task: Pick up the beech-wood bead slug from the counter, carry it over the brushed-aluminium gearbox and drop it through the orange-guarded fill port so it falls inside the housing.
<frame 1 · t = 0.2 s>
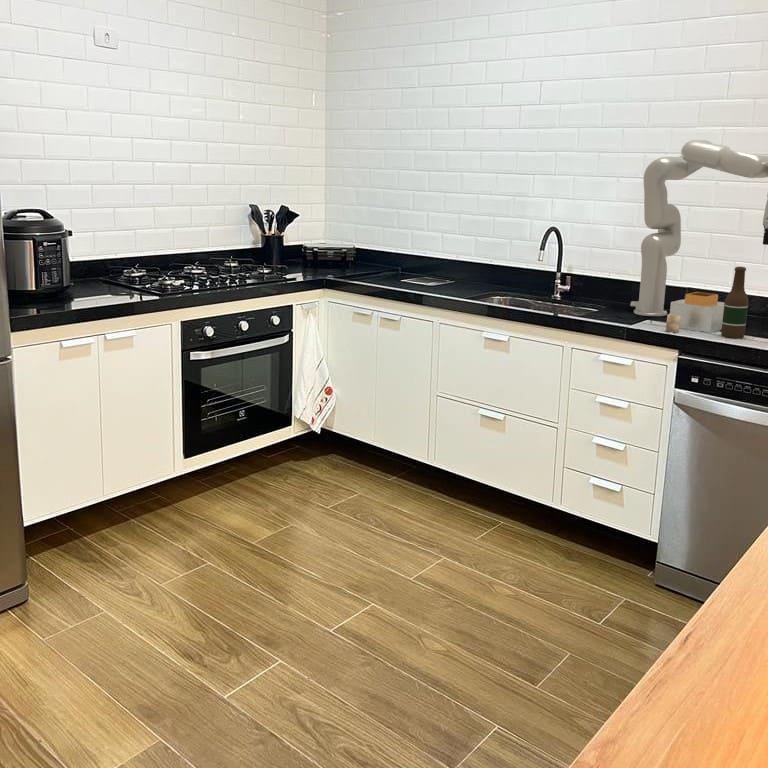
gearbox: (698, 327, 305), on the countertop
bead: (672, 331, 297), on the countertop
beer bottle: (732, 337, 289), on the countertop
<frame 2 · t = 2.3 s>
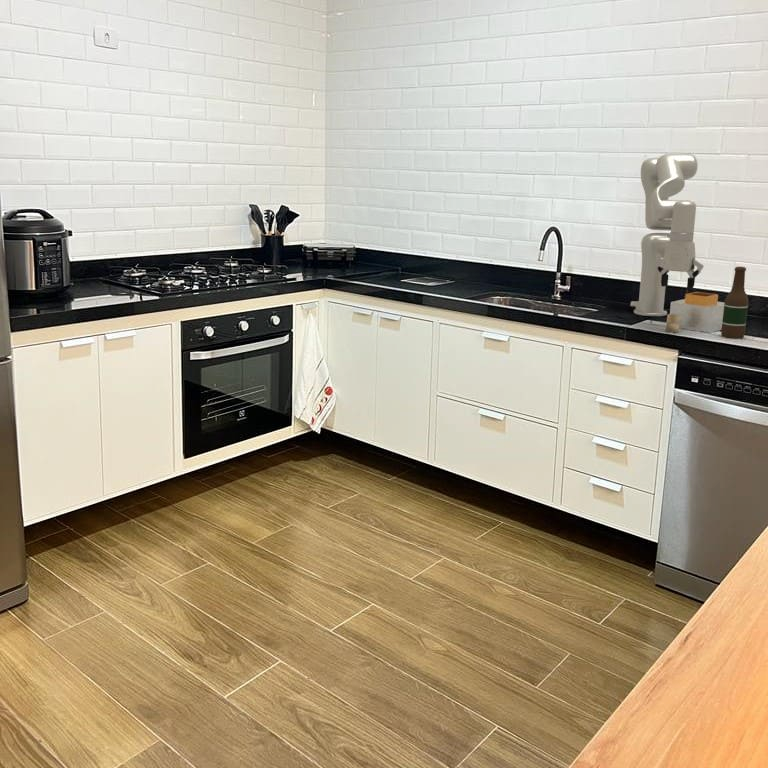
hand: (677, 287, 292), 16 cm above the countertop, fingers open, 9 cm apart
nothing on the countertop moved.
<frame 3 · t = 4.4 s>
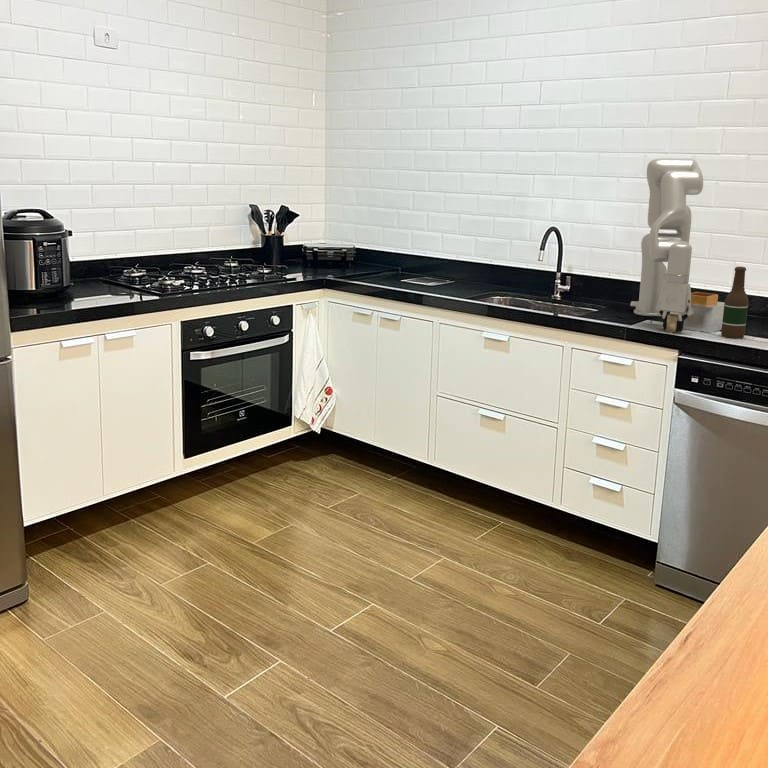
hand: (672, 330, 297), 1 cm above the countertop, fingers closed on bead, 4 cm apart
bead: (672, 331, 297), on the countertop, touching gripper
everything else where it was.
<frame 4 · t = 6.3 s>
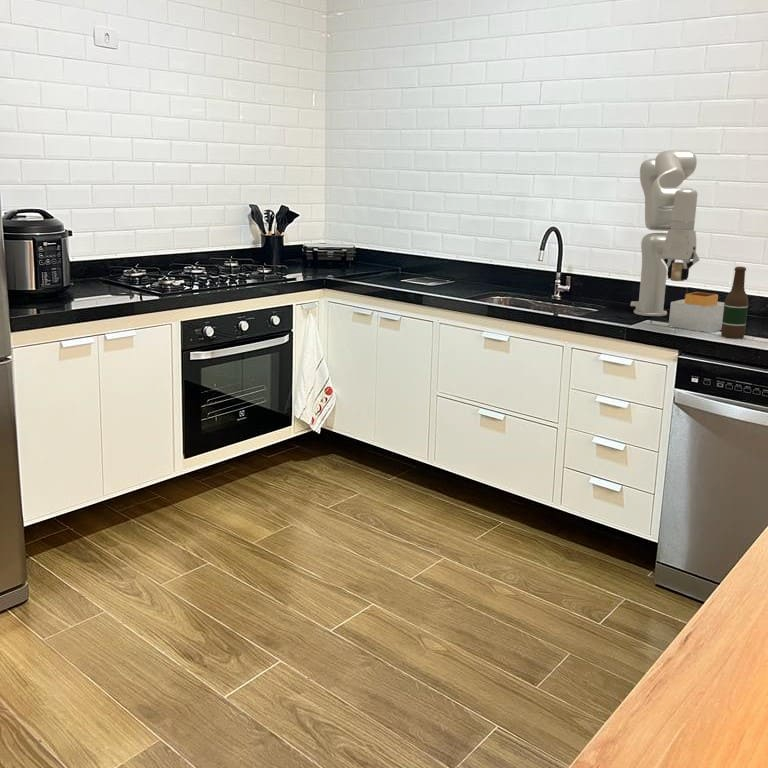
hand: (677, 278, 292), 19 cm above the countertop, fingers closed on bead, 4 cm apart
bead: (677, 280, 292), point 18 cm above the countertop, touching gripper
everything else where it was.
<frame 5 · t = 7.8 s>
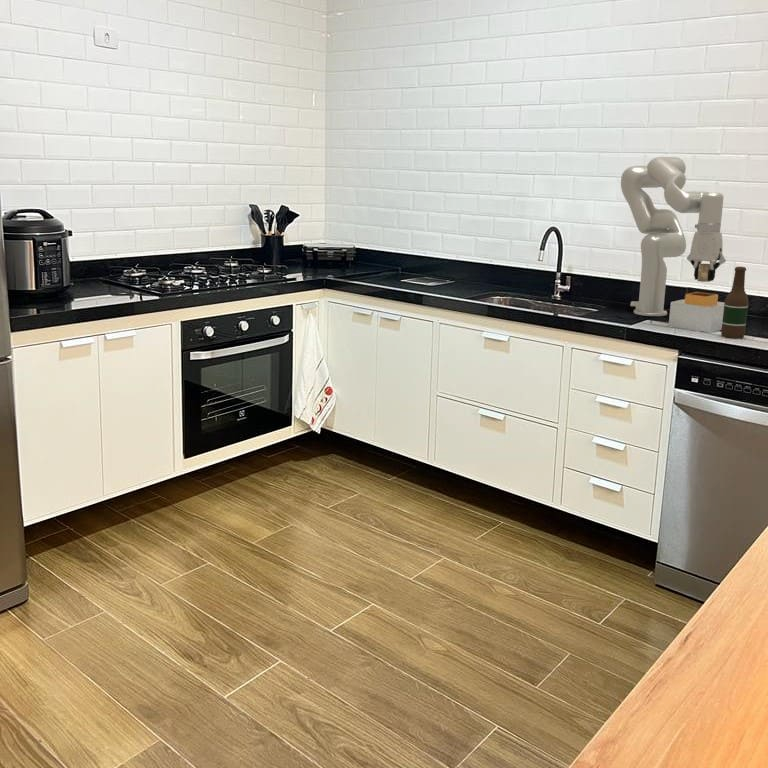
hand: (704, 279, 300), 17 cm above the countertop, fingers closed on bead, 4 cm apart
bead: (703, 281, 301), point 17 cm above the countertop, touching gripper
everything else where it was.
when the fingers open (14 cm above the countertop, at t = 8.6 s): bead drops 13 cm, resting in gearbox.
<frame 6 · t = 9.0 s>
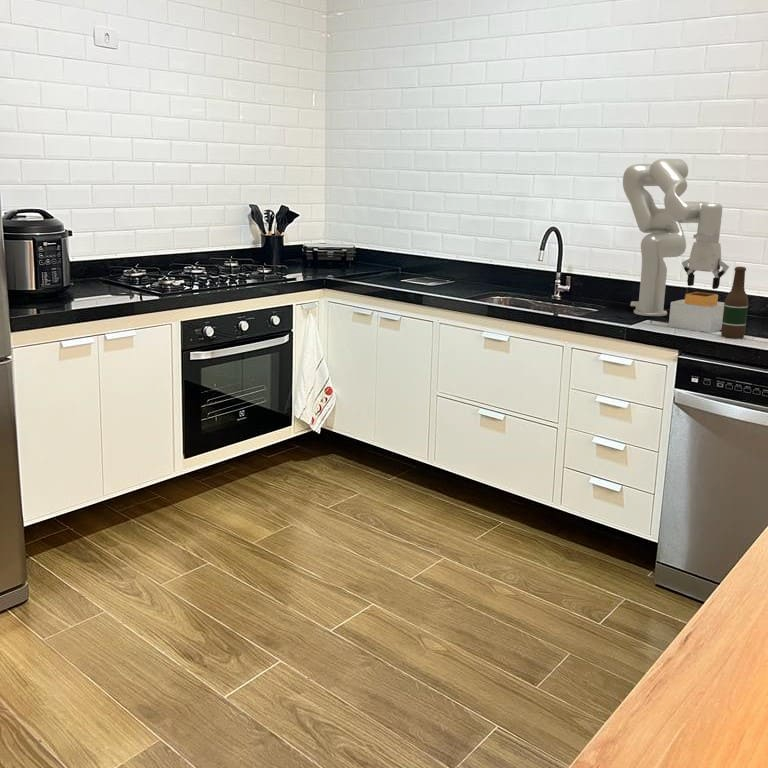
hand: (702, 287, 301), 15 cm above the countertop, fingers open, 9 cm apart
bead: (697, 327, 305), resting in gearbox
everything else where it was.
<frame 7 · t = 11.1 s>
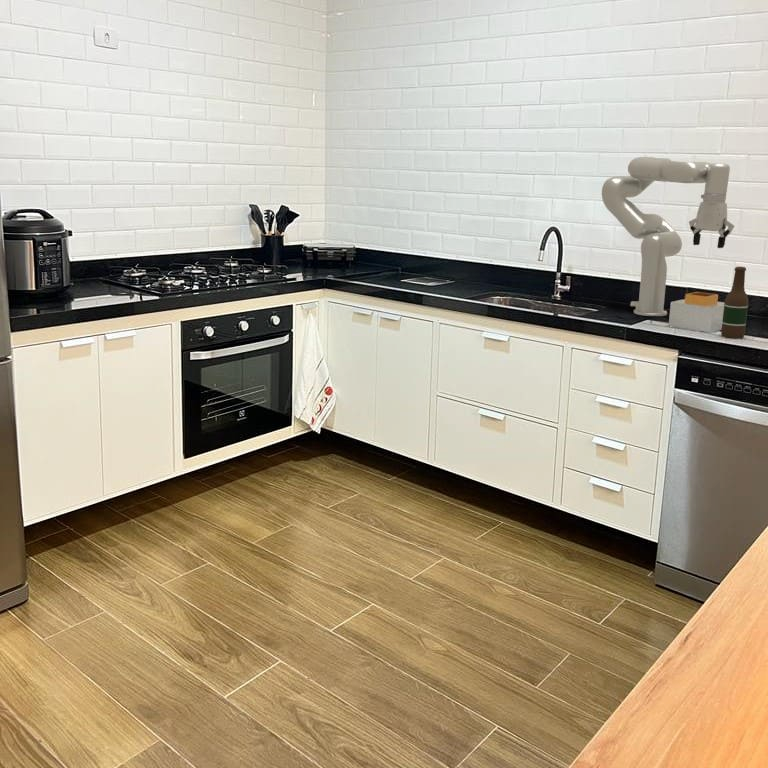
hand: (708, 246, 307), 28 cm above the countertop, fingers open, 9 cm apart
nothing on the countertop moved.
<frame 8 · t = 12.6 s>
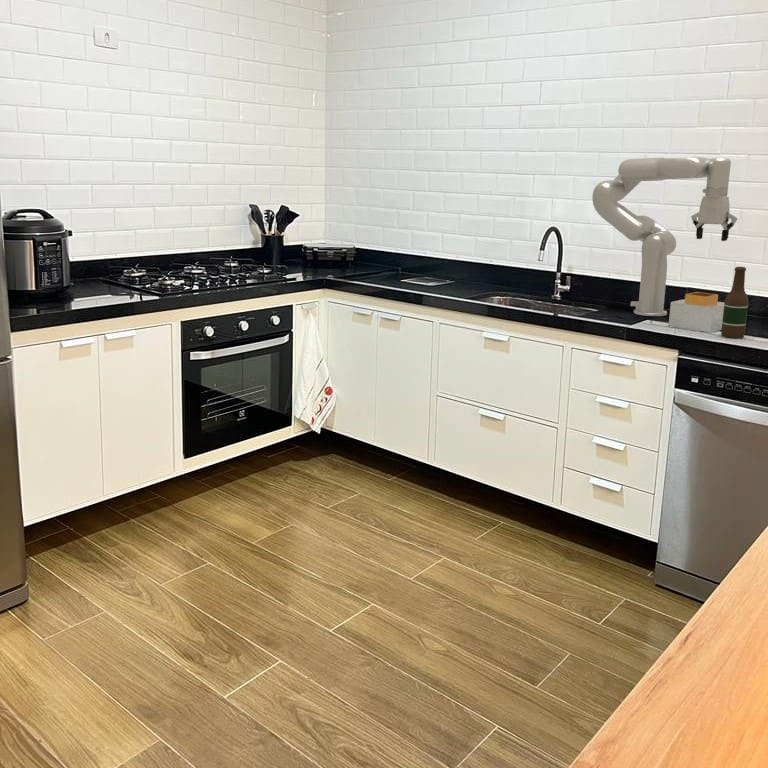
hand: (711, 239, 311), 30 cm above the countertop, fingers open, 9 cm apart
nothing on the countertop moved.
at the end: bead inside the target area on the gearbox (0.2 cm from its centre), point 0.0 cm above the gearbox's base; the gripper is holding nothing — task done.
